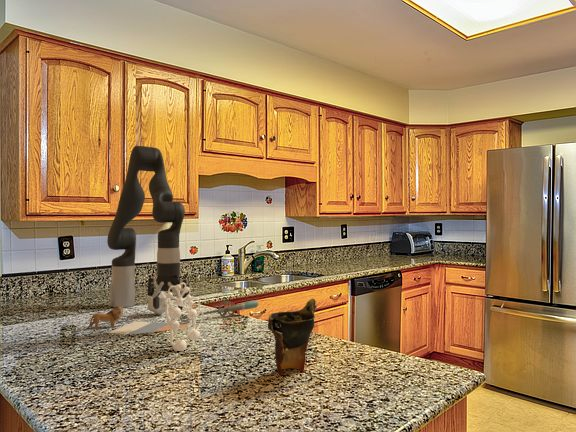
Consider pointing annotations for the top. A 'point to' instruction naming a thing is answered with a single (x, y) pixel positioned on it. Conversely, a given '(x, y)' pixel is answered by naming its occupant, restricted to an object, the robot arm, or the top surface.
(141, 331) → the track board
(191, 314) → the molecule model
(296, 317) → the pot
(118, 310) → the lion figurine
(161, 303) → the die
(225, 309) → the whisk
